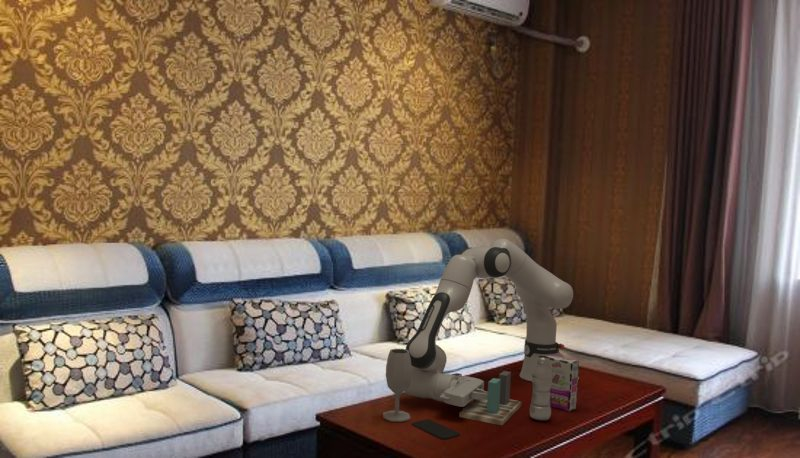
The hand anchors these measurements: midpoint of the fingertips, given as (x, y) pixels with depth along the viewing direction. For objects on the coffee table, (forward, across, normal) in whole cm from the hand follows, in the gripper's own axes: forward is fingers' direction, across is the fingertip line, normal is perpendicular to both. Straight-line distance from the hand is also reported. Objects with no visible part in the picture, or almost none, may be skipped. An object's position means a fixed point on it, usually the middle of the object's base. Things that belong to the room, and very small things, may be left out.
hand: (488, 396), depth 221 cm
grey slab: (+2, +10, +5) cm, 11 cm away
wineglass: (-24, -17, +7) cm, 30 cm away
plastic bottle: (+15, +6, +7) cm, 18 cm away
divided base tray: (0, +5, +7) cm, 8 cm away
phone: (-10, -20, +7) cm, 23 cm away
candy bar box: (+17, +23, +7) cm, 29 cm away
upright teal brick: (+2, 0, +5) cm, 5 cm away
